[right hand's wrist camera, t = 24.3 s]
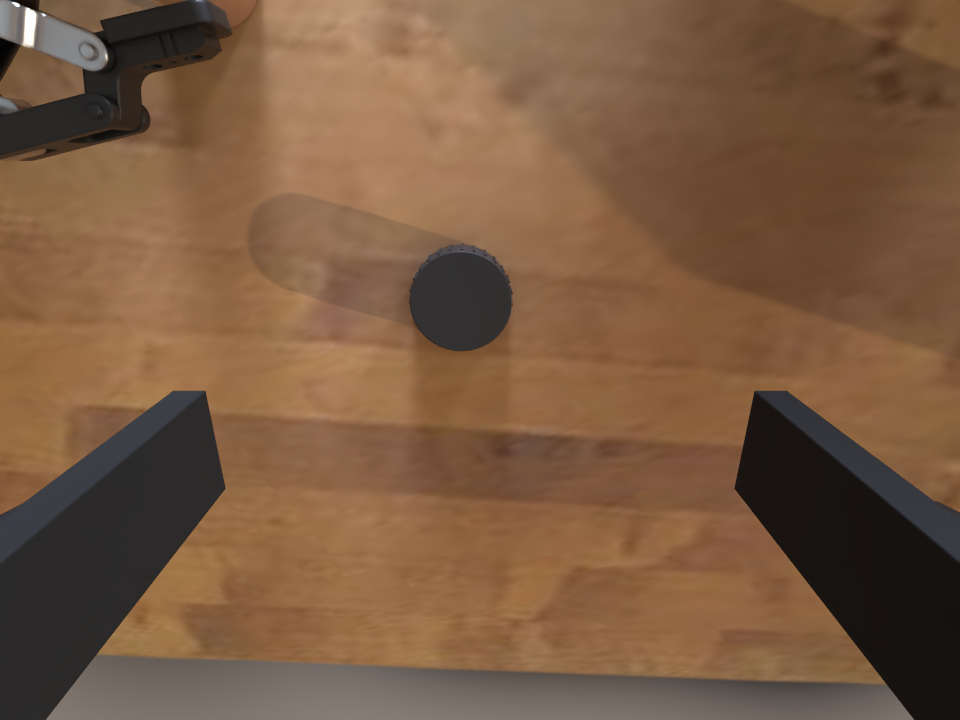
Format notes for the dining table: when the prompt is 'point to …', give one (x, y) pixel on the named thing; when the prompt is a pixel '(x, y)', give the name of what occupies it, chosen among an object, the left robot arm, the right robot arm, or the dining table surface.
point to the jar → (224, 8)
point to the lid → (461, 298)
